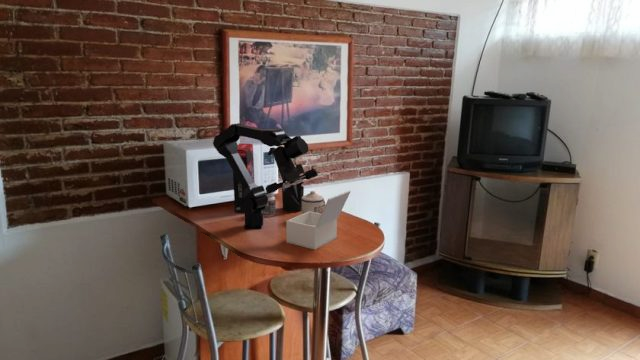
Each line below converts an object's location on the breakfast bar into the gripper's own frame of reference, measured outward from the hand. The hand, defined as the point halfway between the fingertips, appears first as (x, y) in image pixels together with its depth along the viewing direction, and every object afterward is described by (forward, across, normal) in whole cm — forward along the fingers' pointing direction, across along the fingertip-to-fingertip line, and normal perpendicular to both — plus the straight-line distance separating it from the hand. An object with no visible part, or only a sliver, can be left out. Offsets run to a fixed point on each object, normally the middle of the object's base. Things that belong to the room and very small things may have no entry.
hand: (299, 204), depth 170 cm
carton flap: (+5, +9, -9) cm, 14 cm away
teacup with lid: (+8, +8, +25) cm, 27 cm away
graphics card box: (-6, -17, +44) cm, 47 cm away
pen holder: (+2, +2, +38) cm, 38 cm away
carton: (+14, 0, 0) cm, 14 cm away
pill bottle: (0, -9, +32) cm, 33 cm away
